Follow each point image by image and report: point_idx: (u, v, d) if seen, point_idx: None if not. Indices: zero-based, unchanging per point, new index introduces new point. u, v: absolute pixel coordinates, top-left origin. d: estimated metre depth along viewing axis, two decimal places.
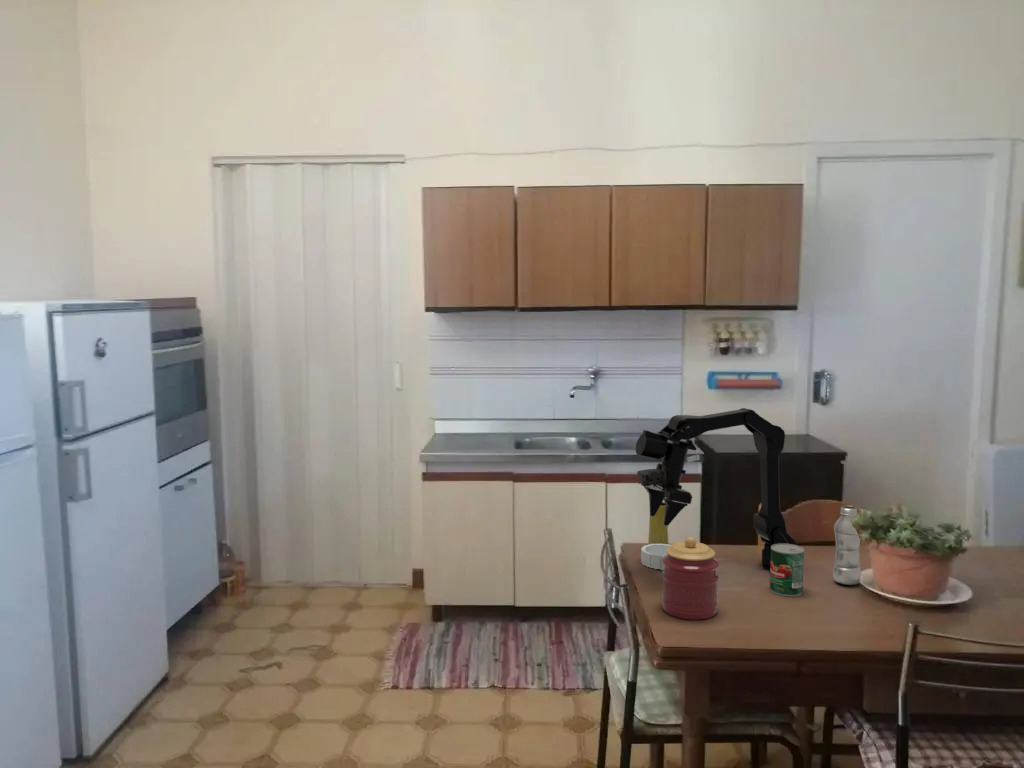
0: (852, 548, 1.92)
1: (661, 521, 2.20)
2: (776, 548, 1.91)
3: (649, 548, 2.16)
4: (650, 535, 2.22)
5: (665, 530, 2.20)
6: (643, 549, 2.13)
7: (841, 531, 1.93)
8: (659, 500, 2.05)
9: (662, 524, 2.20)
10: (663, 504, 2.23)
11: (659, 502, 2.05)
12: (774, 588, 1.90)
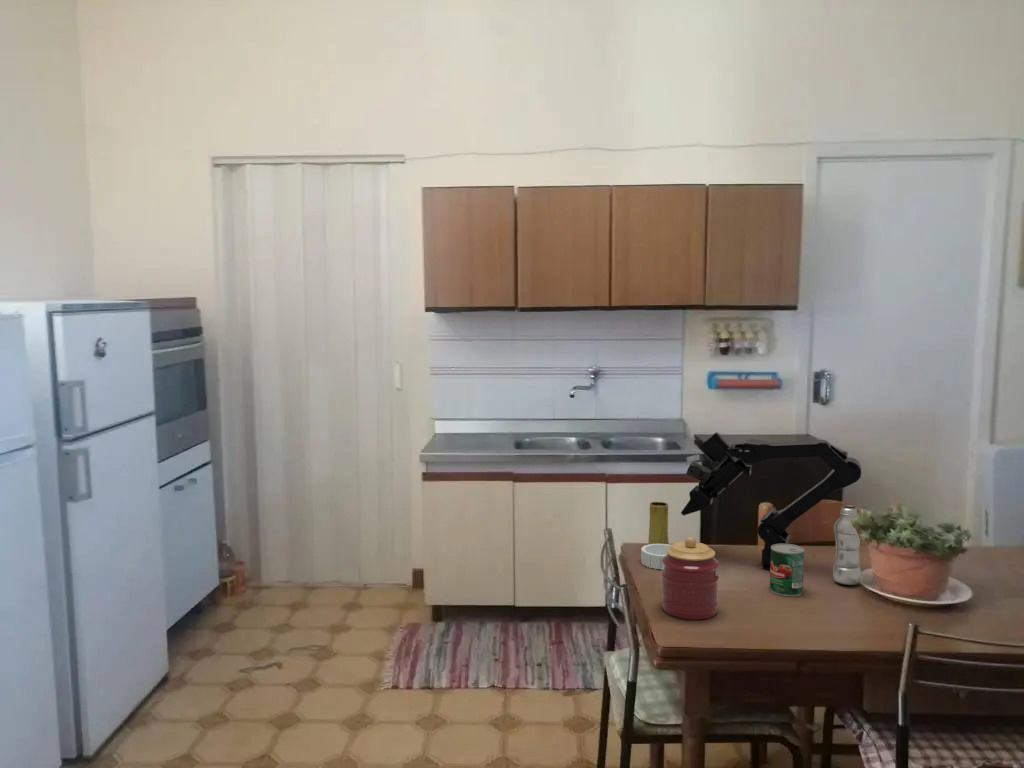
0: (852, 548, 1.92)
1: (661, 521, 2.20)
2: (776, 548, 1.91)
3: (649, 548, 2.16)
4: (650, 535, 2.22)
5: (665, 530, 2.20)
6: (643, 549, 2.13)
7: (841, 531, 1.93)
8: None
9: (662, 524, 2.20)
10: (663, 504, 2.23)
11: None
12: (774, 588, 1.90)
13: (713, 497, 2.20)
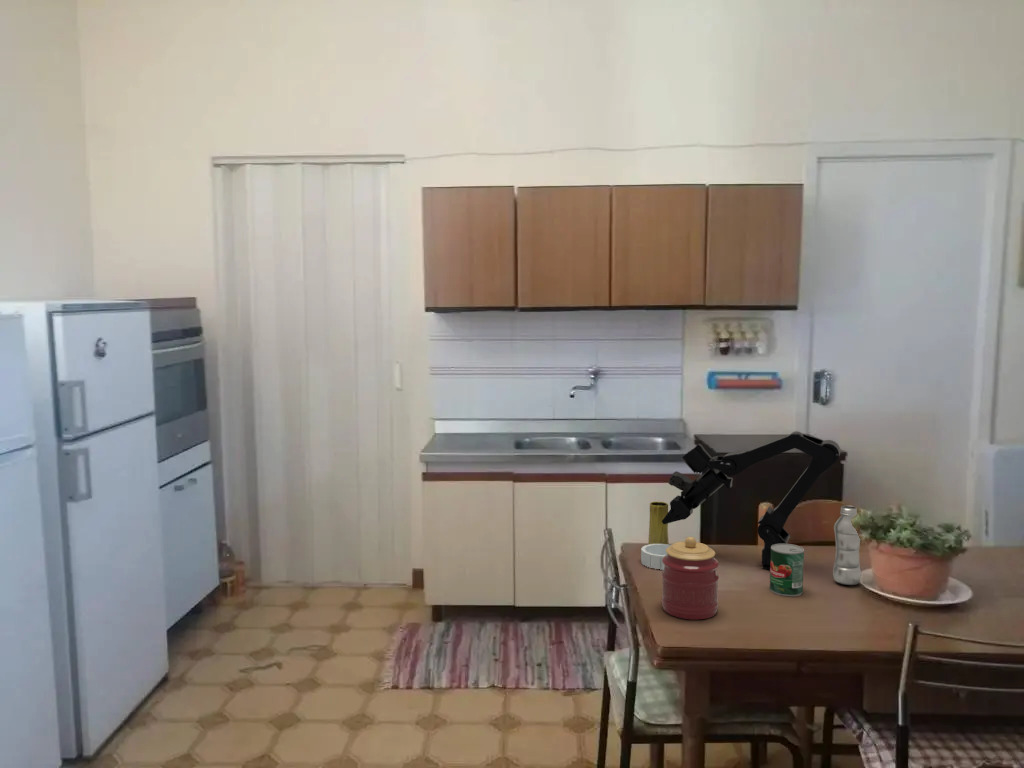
0: (852, 548, 1.92)
1: (661, 521, 2.20)
2: (776, 548, 1.91)
3: (649, 548, 2.16)
4: (650, 535, 2.22)
5: (665, 530, 2.20)
6: (643, 549, 2.13)
7: (841, 531, 1.93)
8: None
9: (662, 524, 2.20)
10: (663, 504, 2.23)
11: None
12: (774, 588, 1.90)
13: (695, 507, 2.23)
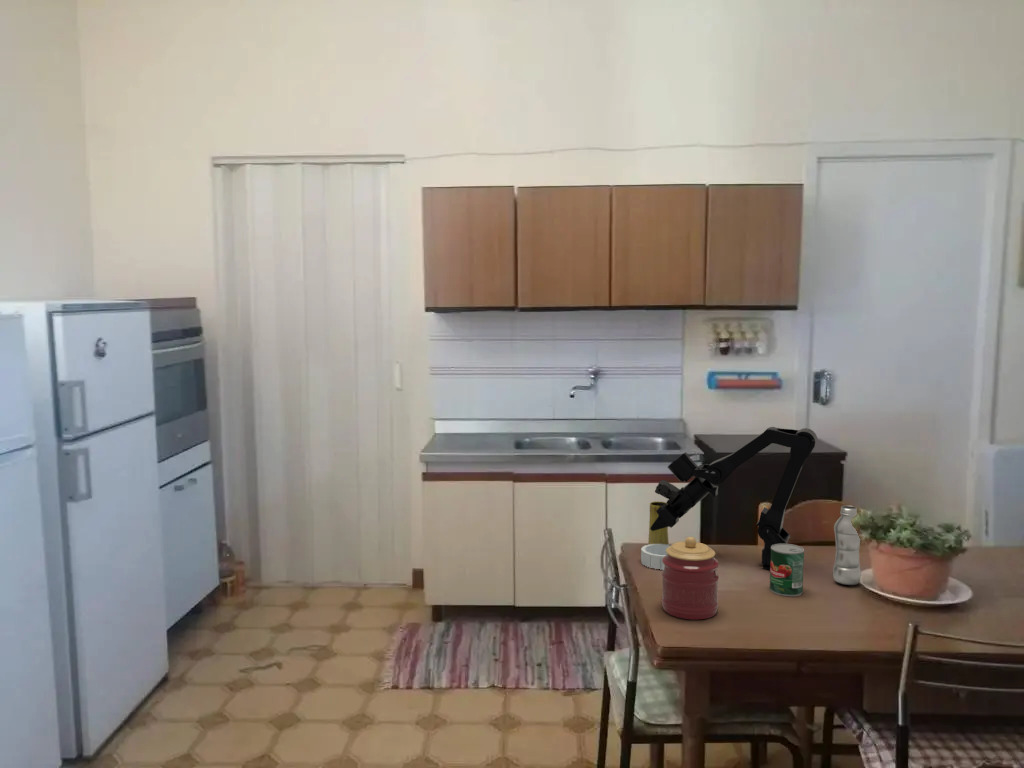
0: (852, 548, 1.92)
1: None
2: (776, 548, 1.91)
3: (649, 548, 2.16)
4: (650, 535, 2.22)
5: (665, 530, 2.20)
6: (643, 549, 2.13)
7: (841, 531, 1.93)
8: None
9: None
10: None
11: None
12: (774, 588, 1.90)
13: (680, 516, 2.23)
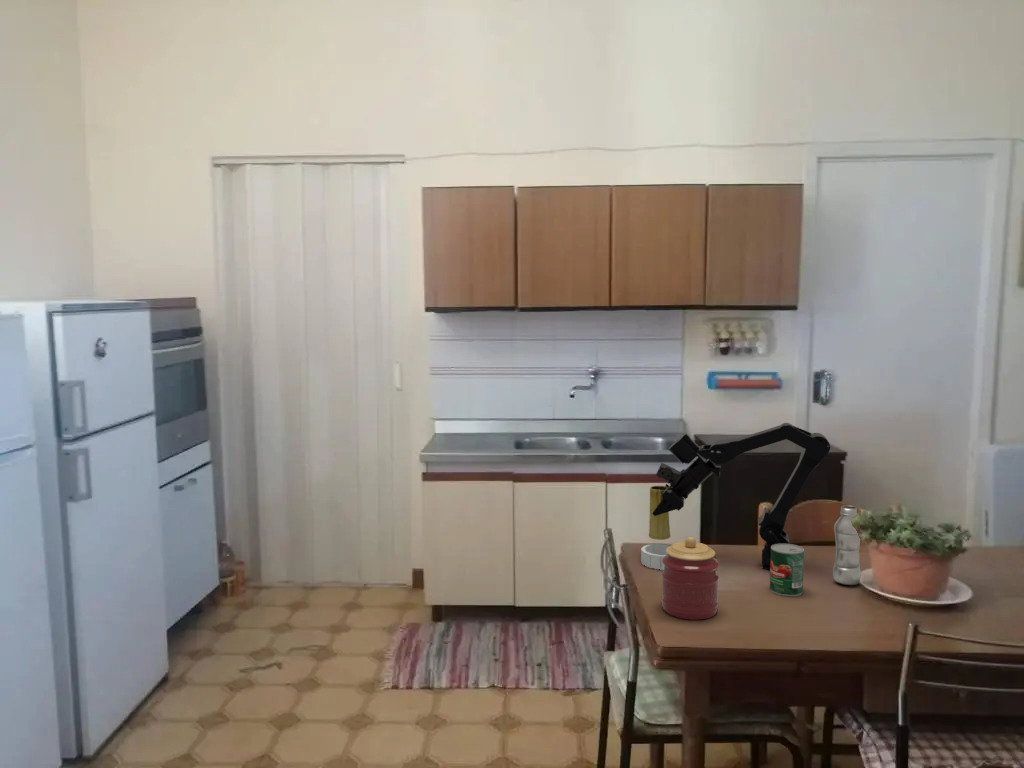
0: (852, 548, 1.92)
1: None
2: (776, 548, 1.91)
3: (649, 548, 2.16)
4: (651, 520, 2.15)
5: (667, 514, 2.15)
6: (643, 549, 2.13)
7: (841, 531, 1.93)
8: None
9: None
10: (662, 488, 2.18)
11: None
12: (774, 588, 1.90)
13: None
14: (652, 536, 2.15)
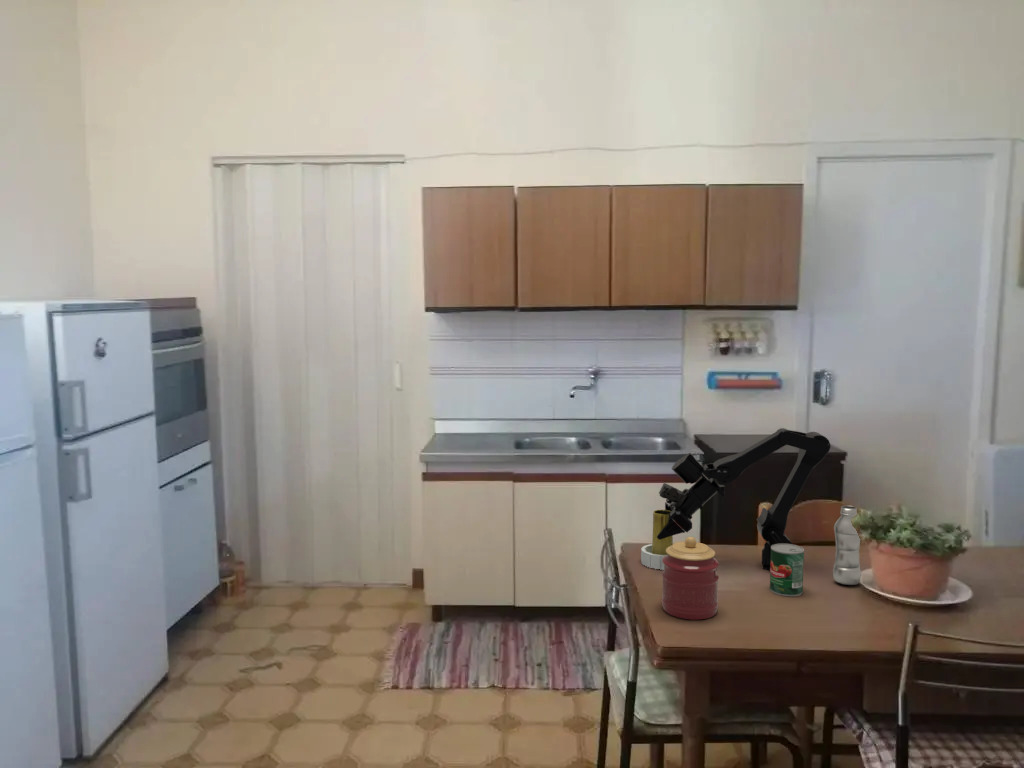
0: (852, 548, 1.92)
1: None
2: (776, 548, 1.91)
3: (649, 548, 2.16)
4: (655, 546, 2.11)
5: (671, 539, 2.10)
6: (643, 549, 2.13)
7: (841, 531, 1.93)
8: None
9: None
10: (665, 512, 2.13)
11: None
12: (774, 588, 1.90)
13: None
14: None
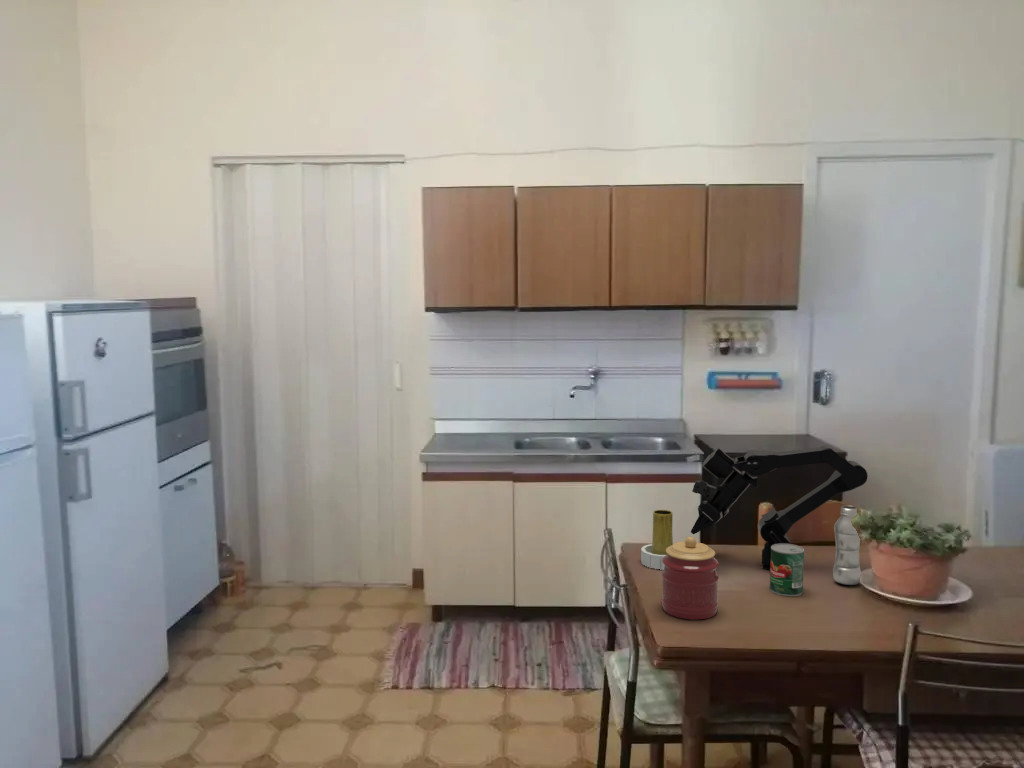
0: (852, 548, 1.92)
1: (668, 530, 2.09)
2: (776, 548, 1.91)
3: (649, 548, 2.16)
4: (655, 546, 2.11)
5: (671, 539, 2.10)
6: (643, 549, 2.13)
7: (841, 531, 1.93)
8: None
9: (669, 533, 2.09)
10: (665, 512, 2.13)
11: None
12: (774, 588, 1.90)
13: (721, 517, 2.15)
14: None
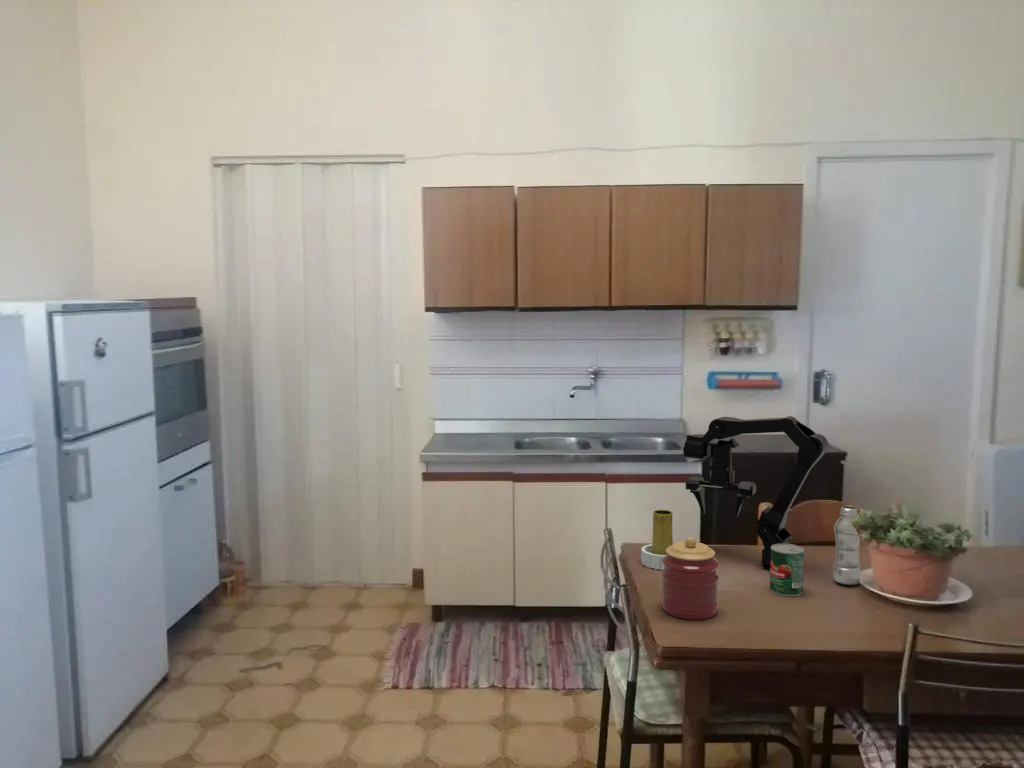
0: (852, 548, 1.92)
1: (668, 530, 2.09)
2: (776, 548, 1.91)
3: (649, 548, 2.16)
4: (655, 546, 2.11)
5: (671, 539, 2.10)
6: (643, 549, 2.13)
7: (841, 531, 1.93)
8: None
9: (669, 533, 2.09)
10: (665, 512, 2.13)
11: (736, 505, 2.13)
12: (774, 588, 1.90)
13: (737, 495, 2.11)
14: None
